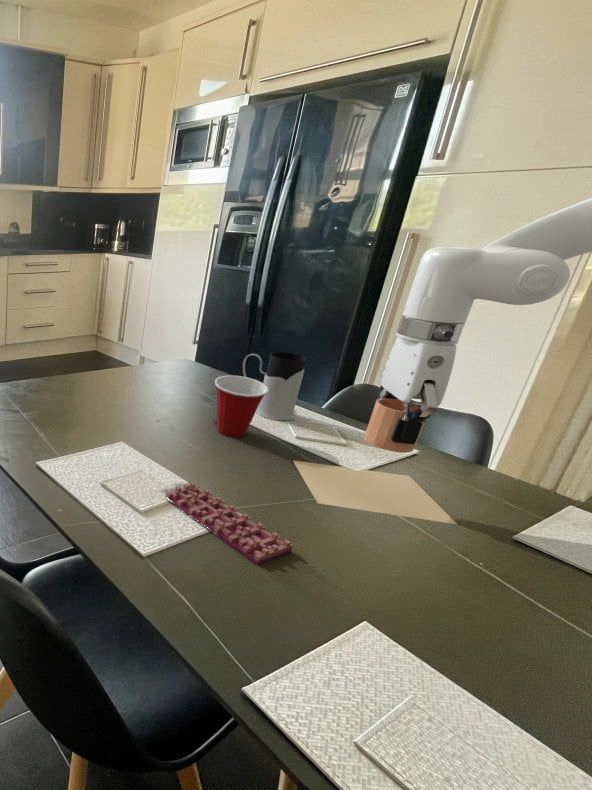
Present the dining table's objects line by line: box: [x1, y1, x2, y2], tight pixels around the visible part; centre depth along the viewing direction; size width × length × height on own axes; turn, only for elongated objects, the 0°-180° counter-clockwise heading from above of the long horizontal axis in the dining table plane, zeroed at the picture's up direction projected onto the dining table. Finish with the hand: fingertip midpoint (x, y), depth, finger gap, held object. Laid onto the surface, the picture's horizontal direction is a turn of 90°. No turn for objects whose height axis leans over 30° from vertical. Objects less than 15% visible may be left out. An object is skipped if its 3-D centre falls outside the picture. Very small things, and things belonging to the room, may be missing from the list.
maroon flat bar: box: [165, 482, 294, 566], centre depth 78 cm, size 7×19×2 cm, turn 24°
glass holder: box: [242, 351, 307, 422], centre depth 121 cm, size 9×14×15 cm, turn 39°
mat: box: [292, 460, 458, 525], centre depth 87 cm, size 20×20×1 cm
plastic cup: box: [214, 375, 269, 438], centre depth 109 cm, size 11×11×12 cm
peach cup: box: [363, 398, 425, 454], centre depth 82 cm, size 7×7×7 cm
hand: (392, 432), depth 82 cm, fingers closed on peach cup, 6 cm apart
